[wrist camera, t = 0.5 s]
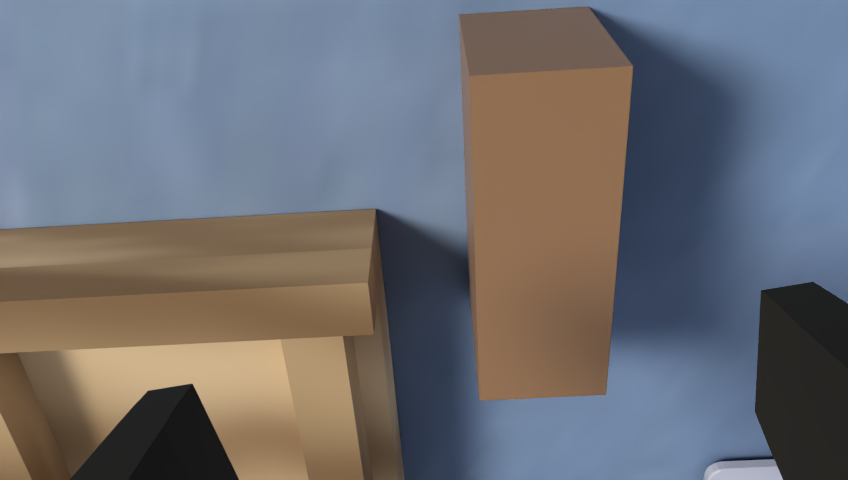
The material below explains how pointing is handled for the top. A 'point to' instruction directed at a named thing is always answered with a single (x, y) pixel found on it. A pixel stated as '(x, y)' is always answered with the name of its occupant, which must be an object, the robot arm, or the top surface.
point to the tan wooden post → (542, 197)
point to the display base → (201, 341)
